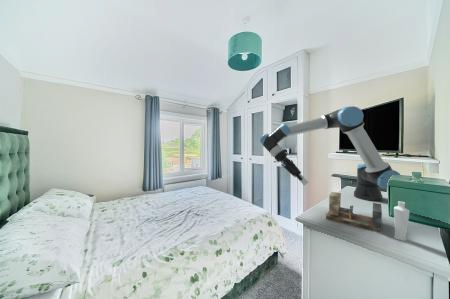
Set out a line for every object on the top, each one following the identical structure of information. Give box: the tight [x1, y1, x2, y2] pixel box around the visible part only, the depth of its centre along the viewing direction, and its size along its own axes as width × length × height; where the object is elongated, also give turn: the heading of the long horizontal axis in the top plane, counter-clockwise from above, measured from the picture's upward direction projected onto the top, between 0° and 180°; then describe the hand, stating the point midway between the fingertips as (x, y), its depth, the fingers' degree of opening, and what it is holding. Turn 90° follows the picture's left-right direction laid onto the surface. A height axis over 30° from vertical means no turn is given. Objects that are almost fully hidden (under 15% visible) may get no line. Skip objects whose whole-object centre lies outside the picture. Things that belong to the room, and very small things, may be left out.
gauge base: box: [325, 202, 383, 233], centre depth 85 cm, size 21×12×9 cm, turn 49°
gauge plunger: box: [328, 191, 350, 216], centre depth 89 cm, size 8×7×10 cm
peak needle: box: [348, 205, 354, 220], centre depth 85 cm, size 1×9×4 cm, turn 139°
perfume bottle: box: [393, 200, 411, 242], centre depth 70 cm, size 5×4×15 cm
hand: (306, 183), depth 99 cm, fingers closed
